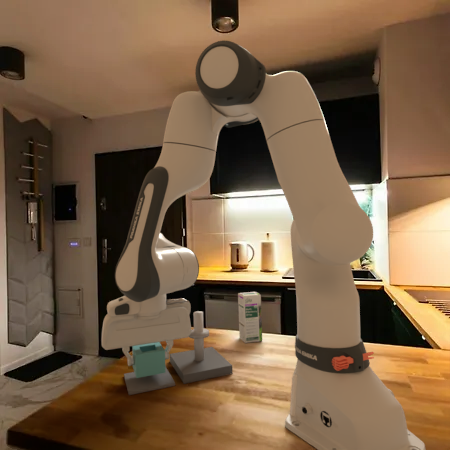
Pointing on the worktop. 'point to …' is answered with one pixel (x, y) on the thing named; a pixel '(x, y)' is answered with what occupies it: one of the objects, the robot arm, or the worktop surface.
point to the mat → (148, 382)
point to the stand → (199, 357)
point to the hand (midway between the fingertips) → (148, 361)
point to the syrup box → (250, 317)
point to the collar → (148, 359)
